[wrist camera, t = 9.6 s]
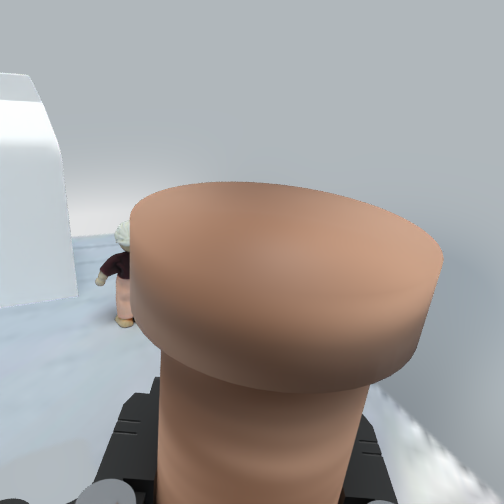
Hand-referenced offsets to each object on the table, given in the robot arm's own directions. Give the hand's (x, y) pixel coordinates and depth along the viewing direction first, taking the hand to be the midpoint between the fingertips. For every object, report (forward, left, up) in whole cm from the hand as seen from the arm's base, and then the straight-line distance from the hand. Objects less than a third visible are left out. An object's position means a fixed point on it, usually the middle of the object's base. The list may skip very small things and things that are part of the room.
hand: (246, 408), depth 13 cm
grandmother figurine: (+13, -34, -20) cm, 42 cm away
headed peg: (0, +3, -8) cm, 9 cm away
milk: (+29, -40, -20) cm, 54 cm away
